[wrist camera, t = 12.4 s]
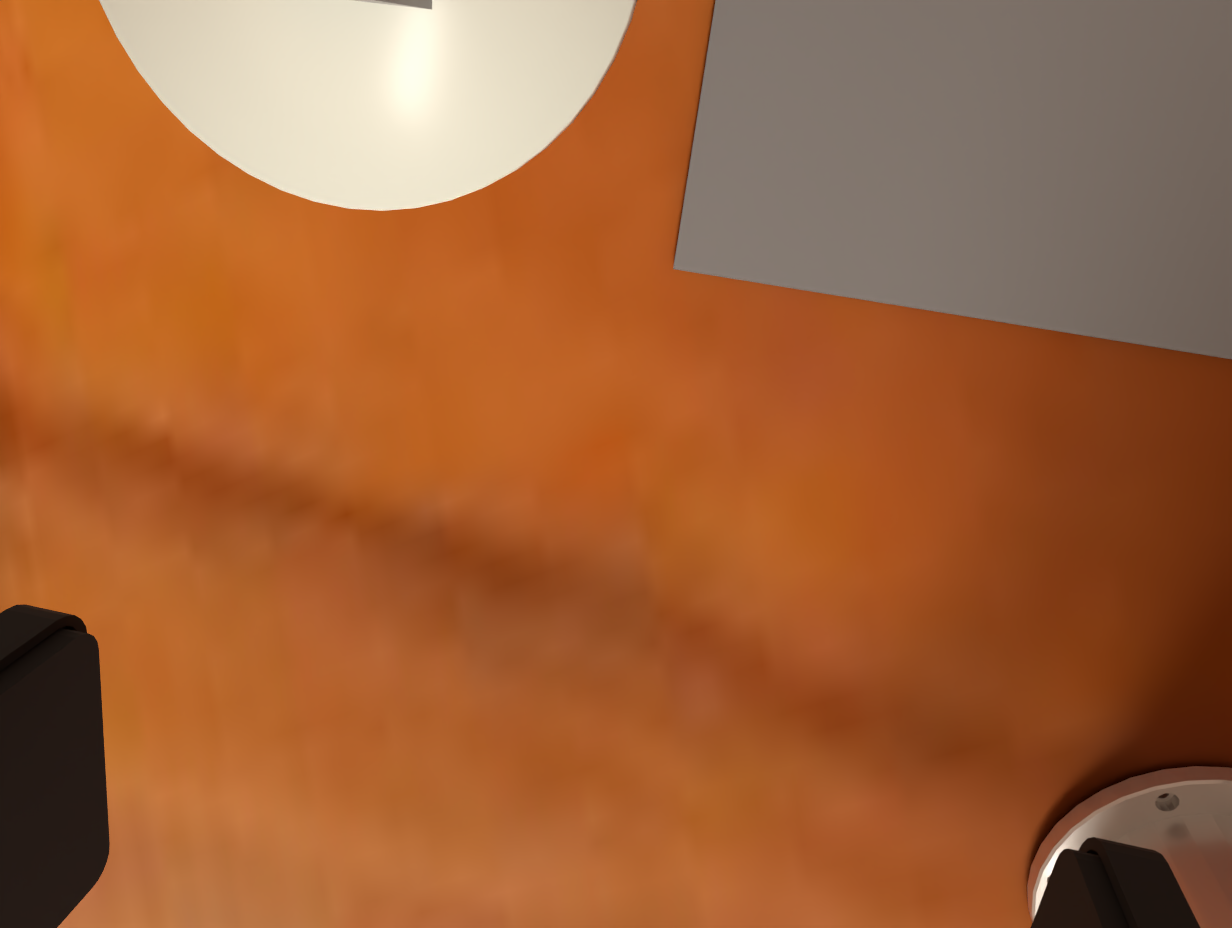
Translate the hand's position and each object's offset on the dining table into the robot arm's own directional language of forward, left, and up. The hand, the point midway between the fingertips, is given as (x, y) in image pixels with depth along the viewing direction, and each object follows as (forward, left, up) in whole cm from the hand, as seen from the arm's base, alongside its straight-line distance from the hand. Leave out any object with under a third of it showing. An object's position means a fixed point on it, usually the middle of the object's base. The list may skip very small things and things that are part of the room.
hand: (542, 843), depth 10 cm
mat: (-9, -9, -28) cm, 30 cm away
